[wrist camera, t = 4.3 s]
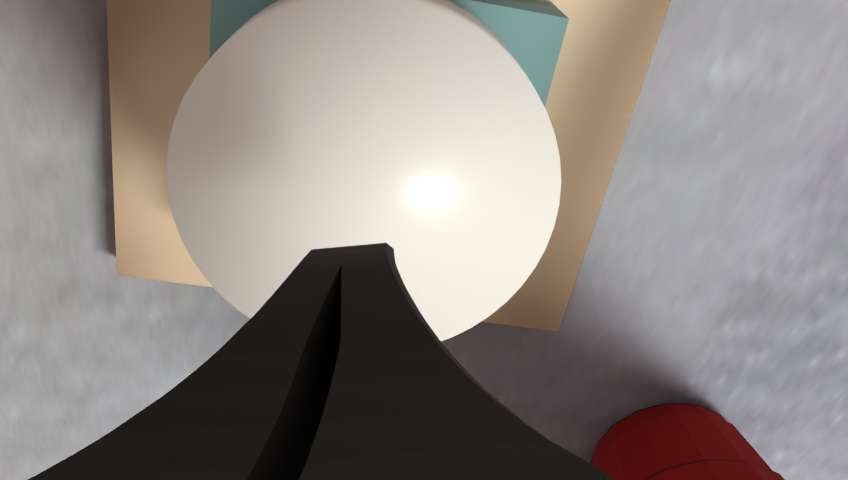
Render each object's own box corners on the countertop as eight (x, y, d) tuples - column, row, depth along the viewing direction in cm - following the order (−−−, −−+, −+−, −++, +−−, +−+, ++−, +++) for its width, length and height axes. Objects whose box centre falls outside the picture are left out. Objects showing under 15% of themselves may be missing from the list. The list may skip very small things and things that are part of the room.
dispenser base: (679, -63, 18) (725, -50, 15) (553, 317, 23) (572, 371, 21) (111, -178, 16) (60, -185, 13) (125, 261, 22) (90, 312, 19)
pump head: (564, -2, 17) (612, 37, 13) (488, 281, 21) (509, 373, 17) (220, -67, 16) (166, -45, 12) (209, 243, 20) (165, 331, 16)
